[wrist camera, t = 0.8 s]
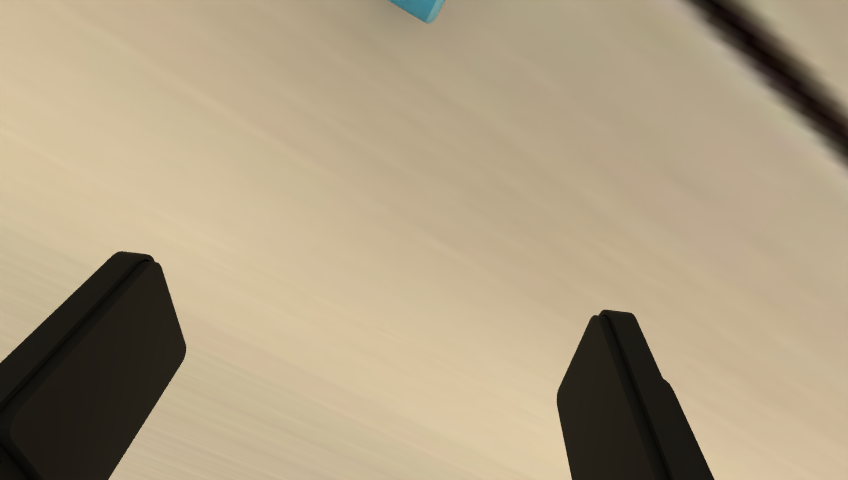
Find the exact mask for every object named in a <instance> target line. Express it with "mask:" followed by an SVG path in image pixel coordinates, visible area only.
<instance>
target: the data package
mask: <svg viewBox="0 0 848 480" xmlns="http://www.w3.org/2000/svg"><path fill="white" fill-rule="evenodd" d="M388 1H390V2H392V3H393V4H395V5H397V6H398V7H400V8H402V9H403V10H405V11H407V12H408V13H410V14H412V15H413V16H415V17H417V18H419V19H420V20H422V21H424V22H425V23H431V22H433V21H434V20H435V18H436V16H437V14H438V13H439V11H440V9H441V7H442V5H443V3H444V1H445V0H388Z"/></svg>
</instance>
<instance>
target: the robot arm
mask: <svg viewBox="0 0 848 480" xmlns="http://www.w3.org/2000/svg"><path fill="white" fill-rule="evenodd" d="M185 354H186V344H185V341H184V338H183V334H182V331H181V328H180V325H179V322H178V318H177V315H176V312H175V309H174V306H173V303H172V299H171V296H170V293H169V290H168V287H167V283H166V280H165V277H164V274H163V271H162V268H161V266H160V264H159V263H157V262H155V261H154V259H153V257H152V256H150V255H147V254H140V253H131V252H123V251H121V252H117V253H115V254H114V255H113V256H112V257H111V258H109V259H108V260H107V261H106V262H105V263H104V264H103V265H102V266H101V267H100V268H99V269H98V270H97V271H96V272H95V273H94V274H93V275H92V276H91V277H90V278H89V279H88V280H87V281H85V282H84V283H83V284H82V285H81V286H80V287H79V288H78V289H77V290H76V291H75V292H74V293H73V294H72V295H71V296H70V297H69V298H68V299H67V300H66V301H65V302H64V303H63V304H62V305H60V306H59V307H58V308H57V309H56V310H55V311H54V312H53V313H52V314H51V315H50V316H49V317H48V318H47V319H46V320H45V321H44V322H43V323H42V324H41V325H40V326H39V327H38V328H36V329H35V330H34V331H33V332H32V333H31V334H30V335H29V336H28V337H27V338H26V339H25V340H24V341H23V342H22V343H21V344H20V345H19V346H18V347H17V348H16V349H15V350H14V351H12V352H11V353H10V354H9V355H8V356H7V357H6V358H5V359H4V360H3V361H2V362H1V363H0V480H108V479H109V477H110V476H111V474H112V473H113V471H114V470H115V468H116V466H117V465H118V463H119V462H120V460H121V458H122V457H123V455H124V454H125V452H126V451H127V449H128V447H129V446H130V444H131V443H132V441H133V439H134V438H135V436H136V435H137V433H138V432H139V430H140V428H141V427H142V425H143V424H144V422H145V420H146V419H147V417H148V416H149V414H150V413H151V411H152V409H153V408H154V406H155V405H156V403H157V401H158V400H159V398H160V397H161V395H162V394H163V392H164V390H165V389H166V387H167V386H168V384H169V382H170V381H171V379H172V378H173V376H174V374H175V373H176V371H177V370H178V368H179V367H180V365H181V363H182V362H183V360H184V357H185ZM557 407H558V412H559V417H560V422H561V427H562V432H563V437H564V442H565V447H566V452H567V457H568V462H569V467H570V472H571V476H572V480H714V478H713V476H712V473H711V471H710V469H709V467H708V465H707V463H706V460H705V458H704V456H703V454H702V452H701V449H700V447H699V445H698V443H697V441H696V439H695V436H694V434H693V432H692V430H691V428H690V425H689V423H688V421H687V419H686V417H685V415H684V412H683V410H682V408H681V406H680V404H679V401H678V399H677V397H676V395H675V393H674V391H673V389H672V387H671V386H670V384H669V383H668V382H667V381H666V380H664V379H663V378H662V376H661V373H660V371H659V369H658V367H657V364H656V362H655V360H654V358H653V355H652V353H651V351H650V349H649V346H648V344H647V342H646V340H645V337H644V335H643V333H642V331H641V329H640V326H639V324H638V322H637V320H636V318H635V316H634V315H633V314H632V313H629V312H620V311H612V310H603V311H601V313H600V314H599V316H597V315H594V316H592V318H591V319H590V321H589V324H588V326H587V328H586V330H585V332H584V335H583V337H582V339H581V341H580V343H579V345H578V348H577V350H576V352H575V354H574V356H573V359H572V361H571V363H570V365H569V367H568V370H567V372H566V374H565V376H564V378H563V381H562V383H561V385H560V387H559V390H558V393H557Z"/></svg>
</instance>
